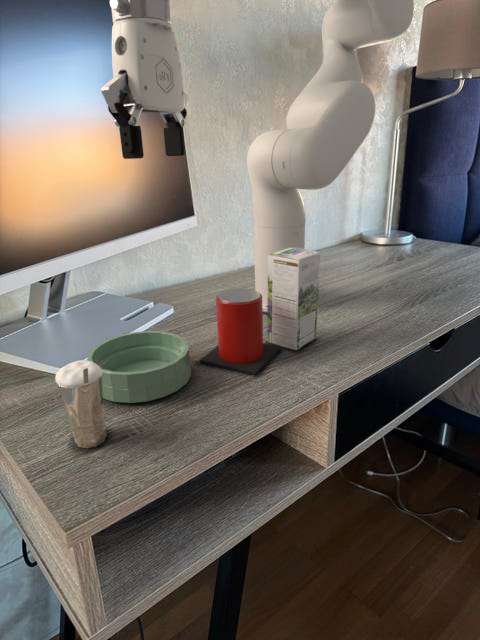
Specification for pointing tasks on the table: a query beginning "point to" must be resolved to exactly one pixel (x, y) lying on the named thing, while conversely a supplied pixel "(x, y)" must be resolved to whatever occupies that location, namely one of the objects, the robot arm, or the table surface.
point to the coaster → (249, 368)
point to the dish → (142, 365)
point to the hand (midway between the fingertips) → (155, 157)
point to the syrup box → (292, 297)
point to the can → (240, 325)
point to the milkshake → (83, 401)
